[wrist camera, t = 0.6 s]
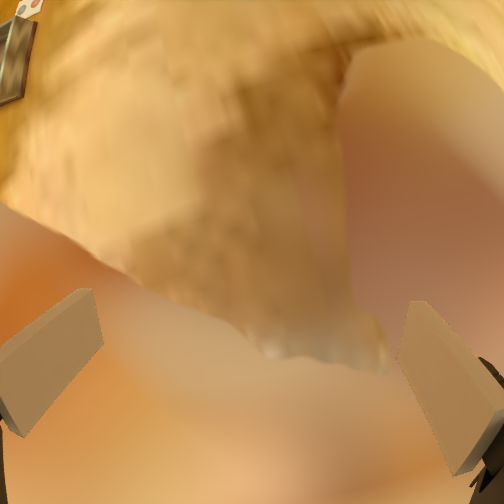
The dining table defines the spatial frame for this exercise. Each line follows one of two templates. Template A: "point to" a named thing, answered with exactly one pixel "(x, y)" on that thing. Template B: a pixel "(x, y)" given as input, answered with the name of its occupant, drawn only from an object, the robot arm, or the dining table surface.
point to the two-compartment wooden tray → (15, 57)
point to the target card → (29, 8)
